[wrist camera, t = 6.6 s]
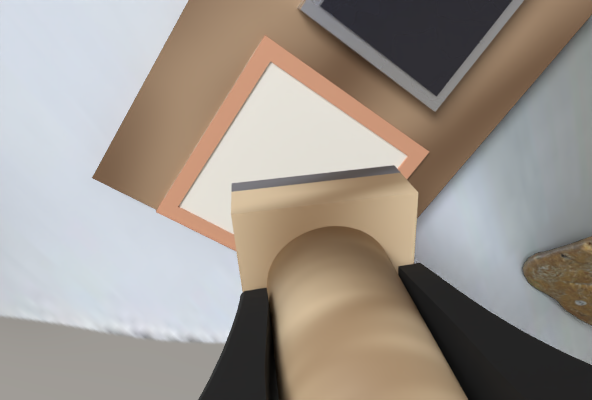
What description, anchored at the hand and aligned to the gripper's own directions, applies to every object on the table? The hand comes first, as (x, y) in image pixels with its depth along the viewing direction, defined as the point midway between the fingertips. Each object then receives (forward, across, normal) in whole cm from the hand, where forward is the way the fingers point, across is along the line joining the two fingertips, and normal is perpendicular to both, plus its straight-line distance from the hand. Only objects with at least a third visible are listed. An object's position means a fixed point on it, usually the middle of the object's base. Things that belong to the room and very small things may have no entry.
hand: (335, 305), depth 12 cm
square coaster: (+9, 0, 0) cm, 9 cm away
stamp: (+3, 0, 0) cm, 3 cm away
